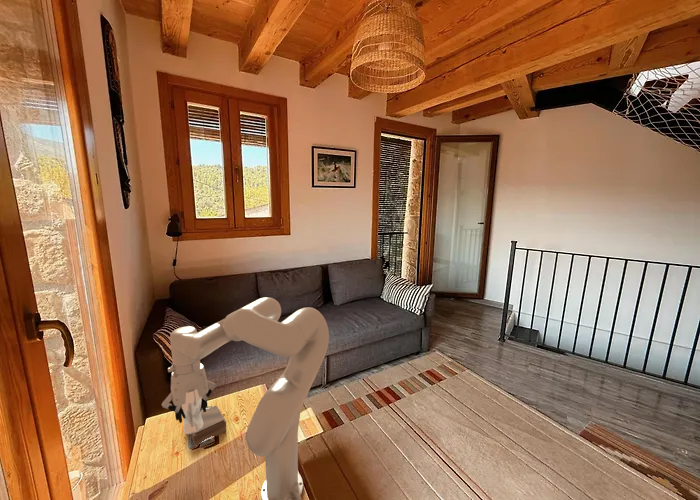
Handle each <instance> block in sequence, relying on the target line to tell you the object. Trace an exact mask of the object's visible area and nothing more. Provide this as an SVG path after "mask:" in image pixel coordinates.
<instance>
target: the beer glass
mask: <svg viewBox="0 0 700 500" xmlns="http://www.w3.org/2000/svg"><path fill="white" fill-rule="evenodd" d="M197 390H198V388H197V389H195V390H193V391H190V392H186V401H185V404H183V405H181V407H180V410H181V414H182V422H183V426H182V427H183V428H182V432H183V433H184V435H185V434H186V435H190V434H193V433H196V432H197V431H199V430H200V429H201V428H202V427H203V425H204V422H203V419H202V415H201V412H202V411H203V410H202V402H203V398H202V397H199V394H198V391H197Z"/></svg>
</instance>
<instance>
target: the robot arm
mask: <svg viewBox="0 0 700 500" xmlns="http://www.w3.org/2000/svg"><path fill="white" fill-rule="evenodd" d="M281 315H282V307H281V304H280V303H279V301H278V300H276V299H275V298H273V297H267V296H266V297H260V298H258V299H256V300H254V301H252V302H251V303H250V302H249V303H248V304H246V305H245V306H243V307H240V308H239V309H237V310H235V311H233V312H231V313H230V314H227V315H226V316H225V318H223V319H221V320H220V321H217V322H215V323H213V324H211V325H209V326H207V327H206V328H204V329H202V330H200V331H197V328H195V327H194V326H191V325H187V326H180V327H178V328H176V329H174V330H172V331H171V333H170V336H169V341H170V349H171V350H170V351H171V357H172V358H171V359H172V365H171V366H169V367H168V368H167V372H168V373H171V376H170V393H169V394H168V396H166V398H165V399H164V400H163V401H162V403H161V406H162V408H164V409H167V410H169V411H172V412H174V414H175V420H176V421H178V422H179V424H182V423H183V417H182V414H181V410H180V407H181V405H183V404H185V401H186V392H190V391H193V390H195V389H197V388H198V390H197V391H198V394H199V397H202V398H203V402H202V411H203V412H206V410H207V408H208V400H209V398H210V396H211V394H212V392H213V391H214V390H215V388H216V386H217V384H216V383H215V382H213V381H212V380H209V379H208V378H207V374H206V369H205V366H204V364H202V363H201V360H202V359H203V358H206V357H207V356H208V355H210V354H212V353H213V352H214V351H216V350H218V349H219V348H220V347H222V346H223V345H225V344H227V343H229V342H231V341H234V342H241V341H244V342H246V343H247V344H249V345H252V346H254V347H256V348H259V349H261V350H263V351H266V352H268V353H271V354H273V355H276V356H278V357H282V358H289V361H288V364H287V365H286V367H285V369H284V371H283V372H282V373H281V375H280V376H279V377H278V378H277V379H276V380H275V381H274V382H273V384H272V385H271V386H270V387H269V388H268V389H267V390H266V392H265V393H264V394H263V395H262V396H261V398H260V400H259V402H258V404H257V406H256V408H255V411H254V413H253V415H252V417H251V420H250V421H249V424H248V426H247V430H246V435H245V436H246V437H245V438H246V444H247V446H248V449H249V450H250V452H251V453H253V454H254V455H256V456H259V457H265V459H264V460H265V480H264V481H263V484H262V487H261V490H260V491H261V492H260V495H261V496H260V497H261V500H302V497H301V496H302V493H303V490H304V480H303V478H302V476H301V473H299V463H298V462H299V451H298V450H299V448H298V447H299V445H298V444H299V443H298V442H299V440H298V439H299V425H300V419H301V407H302V405H303V404H304V402H305V401H306V399H307V396H308V394H309V393H310V390H311V387H312V385H313V384H314V380H315V379H316V377H317V375H318V373H319V370H320V368H321V365H322V364H323V362H324V359H325V356H326V353H327V351H328V347H329V342H330V341H329V340H330V332H329V330H330V329H329V327H328V326H329V325H328V323H327V320H326V318H325V317H324V315H323V314H322V313H321V312H320V311H319V310H317V309H316V308H314V307H309V306H308V307H303V308H300V309H297V310H296V311H295V312H293V313H292V314H290V315H288V317H286V318H285V319H284V320H282V321H281V322H280V321H279V319H280V317H281ZM171 401H172V403H170V402H171Z"/></svg>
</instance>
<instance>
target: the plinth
mask: <svg viewBox="0 0 700 500" xmlns="http://www.w3.org/2000/svg"><path fill="white" fill-rule="evenodd" d="M201 415H202V419H203V422H204V425H203V427H202V428H201V429H200V430H199V431H197V432H196V433H193V434H189V435H190V438H191V437H192V438H191V440H192V443H193V445H195V446H196V445H198V444H199V443H201V442H202V441H204V440H205V439H207V438H209V437H211V436H216V437H218V436H220V435H222V434H224V433H226V432H227V421H226V419H225V417H224V415H223V414H222V412H221V410H220V408H219V407H218V405H214V406H211V407H209V408H206V412H203V410H202V412H201ZM195 446H194V447H195ZM198 446H199V445H198ZM196 447H197V446H196Z"/></svg>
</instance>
